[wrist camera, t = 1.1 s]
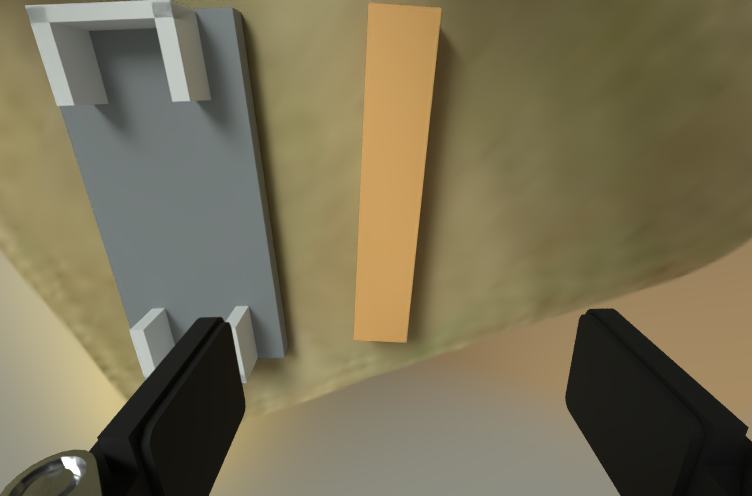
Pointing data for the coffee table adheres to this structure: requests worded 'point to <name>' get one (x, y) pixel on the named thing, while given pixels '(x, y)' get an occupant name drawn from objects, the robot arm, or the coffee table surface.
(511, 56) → the coffee table surface
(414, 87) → the slat
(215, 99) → the cap board
